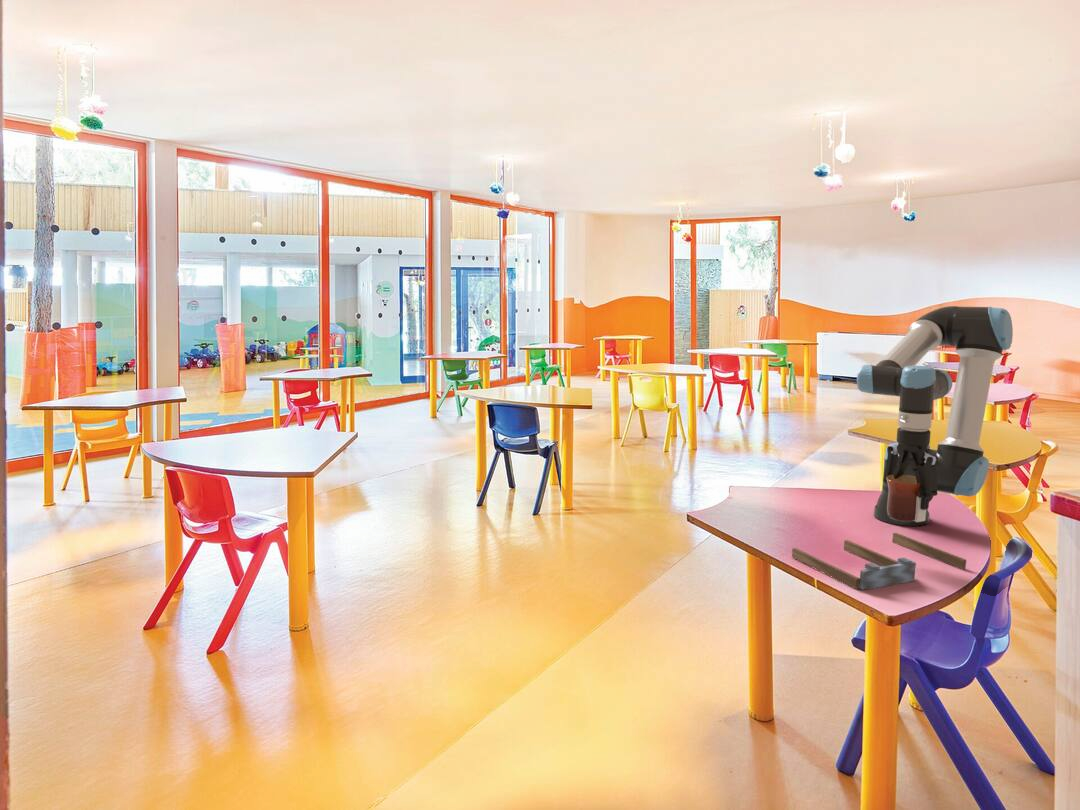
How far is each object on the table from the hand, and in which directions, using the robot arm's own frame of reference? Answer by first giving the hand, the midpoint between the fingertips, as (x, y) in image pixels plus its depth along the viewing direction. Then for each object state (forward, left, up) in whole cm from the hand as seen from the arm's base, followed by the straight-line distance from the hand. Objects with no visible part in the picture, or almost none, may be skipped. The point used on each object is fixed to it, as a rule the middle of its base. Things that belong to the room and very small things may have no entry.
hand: (906, 516), depth 199 cm
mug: (0, +1, -1) cm, 1 cm away
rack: (+9, 0, -11) cm, 14 cm away
